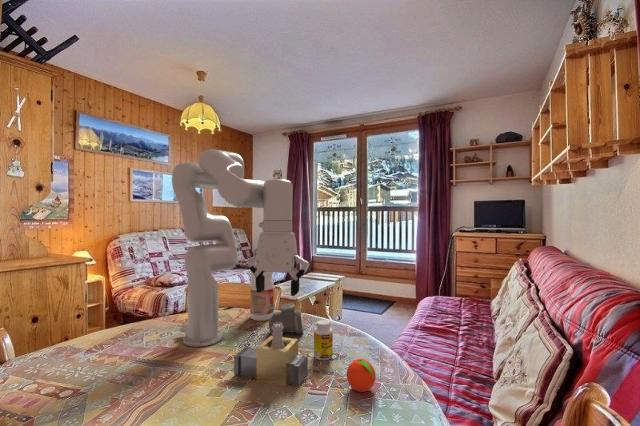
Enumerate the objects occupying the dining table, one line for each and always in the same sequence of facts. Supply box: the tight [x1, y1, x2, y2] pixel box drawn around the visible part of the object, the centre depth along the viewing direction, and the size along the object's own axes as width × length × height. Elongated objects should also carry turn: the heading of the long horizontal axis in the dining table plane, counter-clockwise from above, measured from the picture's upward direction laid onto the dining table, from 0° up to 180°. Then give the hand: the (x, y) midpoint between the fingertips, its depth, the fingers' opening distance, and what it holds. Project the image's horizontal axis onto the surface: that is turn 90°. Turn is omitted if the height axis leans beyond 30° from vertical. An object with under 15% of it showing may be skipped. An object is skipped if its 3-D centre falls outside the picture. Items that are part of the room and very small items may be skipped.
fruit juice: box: [249, 248, 275, 322], centre depth 127 cm, size 9×9×28 cm
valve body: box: [233, 335, 309, 388], centre depth 81 cm, size 18×8×8 cm, turn 72°
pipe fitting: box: [268, 302, 304, 334], centre depth 110 cm, size 12×8×10 cm
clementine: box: [346, 358, 377, 393], centre depth 74 cm, size 8×7×7 cm
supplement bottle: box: [313, 319, 334, 361], centre depth 92 cm, size 6×6×10 cm
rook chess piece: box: [271, 322, 285, 349], centre depth 81 cm, size 4×4×8 cm
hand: (277, 293), depth 81 cm, fingers open, 9 cm apart
